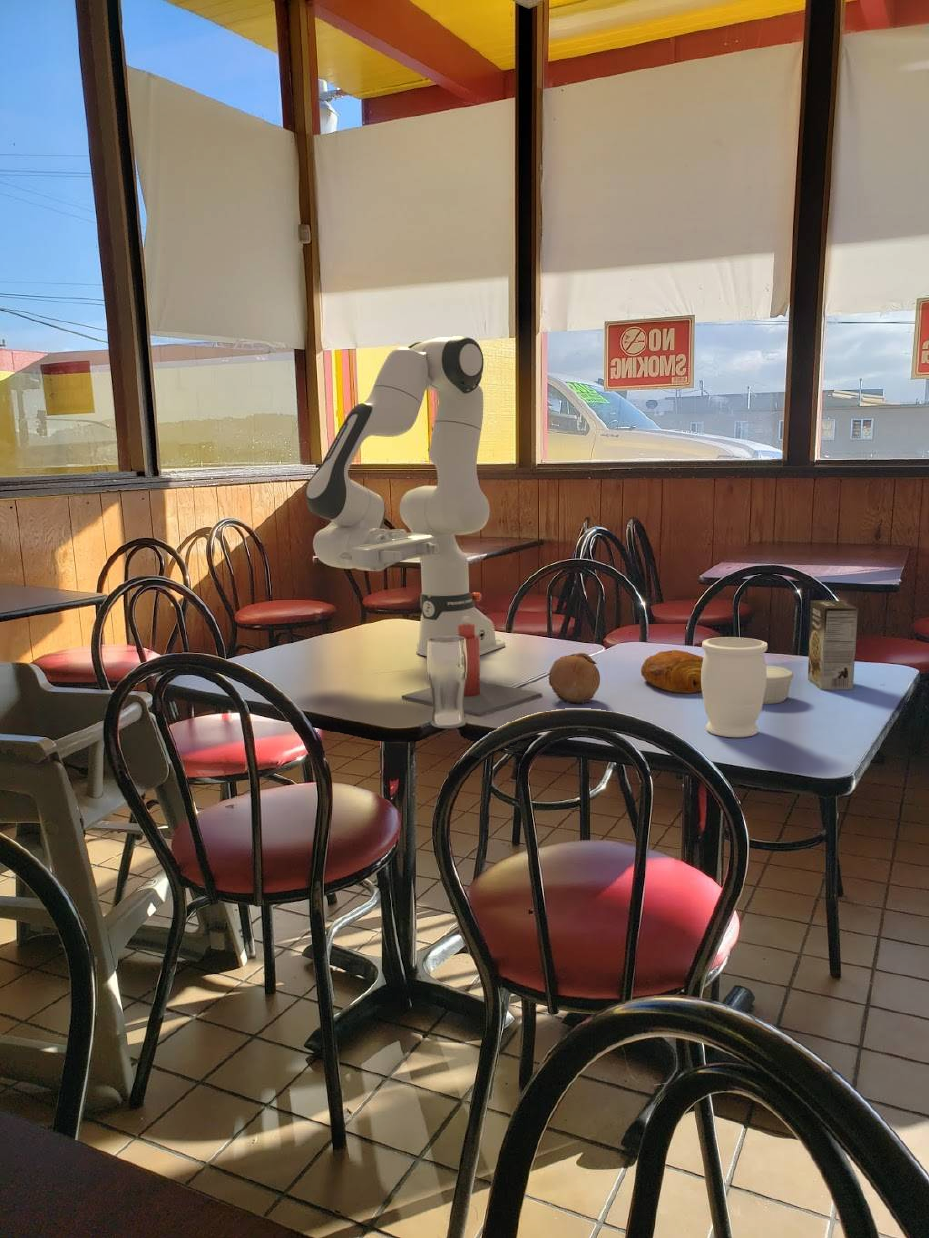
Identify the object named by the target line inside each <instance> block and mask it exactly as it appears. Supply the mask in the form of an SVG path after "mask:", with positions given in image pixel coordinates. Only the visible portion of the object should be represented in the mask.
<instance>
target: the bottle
mask: <svg viewBox="0 0 929 1238" xmlns="http://www.w3.org/2000/svg"><path fill="white" fill-rule="evenodd" d="M458 636H461V637H464V638H465V639H466V649H467V678H466V685H465V691H464V697H470V696H477V695H479V694H480V681H481V671H480V670H481V669H480V666H481V664H480V659H481V658H480V657H481V656H479V637H478V636H475V625H474V624H470V617H469V616H464V617H463V624H459V625H458Z"/></svg>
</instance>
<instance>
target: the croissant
mask: <svg viewBox="0 0 929 1238" xmlns="http://www.w3.org/2000/svg"><path fill="white" fill-rule="evenodd" d="M703 658H704V656H700V655H697V654H694V653H690V652H688V651H684V650H678V649H672V650H665V651H659V652H657V653H656V654H654V655H650V656H649V657H647V658H646V659H645V660H644V663H643V664H642V665H641V670H640V674H641V676H642V677H643V679H644V680H645V681H646V682H648V683H650V684H651V686H654V687H656V688H659V689H661V690H664V691H668V692H672V693H676V694H677V693H682V694H683V693H685V694H694V693H698V692H702V687H701V669H702V663H703Z"/></svg>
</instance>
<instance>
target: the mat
mask: <svg viewBox="0 0 929 1238" xmlns="http://www.w3.org/2000/svg"><path fill="white" fill-rule="evenodd" d="M542 694H543V692H538V691H533V690H527V689H524V688H523V689H522V688H517V687H512V686H507V685H502V684H496V683H491V682H486V681H481V680H480V694H479V695H477V696H470V697H464V699H463V706H464V713H465V714H469V715H473V714H474V716H477V715H479V716H478V717H481V716H483V714H484V715H487V714H490V713H489V712H491V713H493V712H496V711H499V710H502V709H505V708H509V707H513V706H515V705H518V704H521V703H520V702H522V703H524V702H528V701H530V699H531V700H533V698H534V699H537V698H540V697H542ZM401 699H402V700H405V701H406V700H407V701H412V702H415V703H420V704H425V705H429V706H433V699H432V693H431V688H430V687H428V688H424V689H421V690H418V691H413V692H411V693H406V694H403V695H401ZM486 713H487V714H486ZM480 715H481V716H480Z"/></svg>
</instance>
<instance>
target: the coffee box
mask: <svg viewBox="0 0 929 1238" xmlns="http://www.w3.org/2000/svg"><path fill="white" fill-rule="evenodd" d="M809 610H810V615H809V636H808V637H809V641H808V661H807V662H808V665H807V666H808V667H807V668H808V669H807V680H808V681H811V683H813V684H814V685H815V686H816V687H817V688H819V689H820V690H825V691H829V690H831V691H832V690H835V691H837V690H846V691H847V690H849V691H850V690H851V691H853V690H854V677H855V676H854V675H855V660H856V659H855V658H856V648H857V647H856V644H857V627H858V625H857V624H858V608H857V607H856V606H854V605H852V604H850V603H848V602H845V601H843V600H826V599H823V600H822V599H821V600H819V599H818V600H810V609H809Z"/></svg>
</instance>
